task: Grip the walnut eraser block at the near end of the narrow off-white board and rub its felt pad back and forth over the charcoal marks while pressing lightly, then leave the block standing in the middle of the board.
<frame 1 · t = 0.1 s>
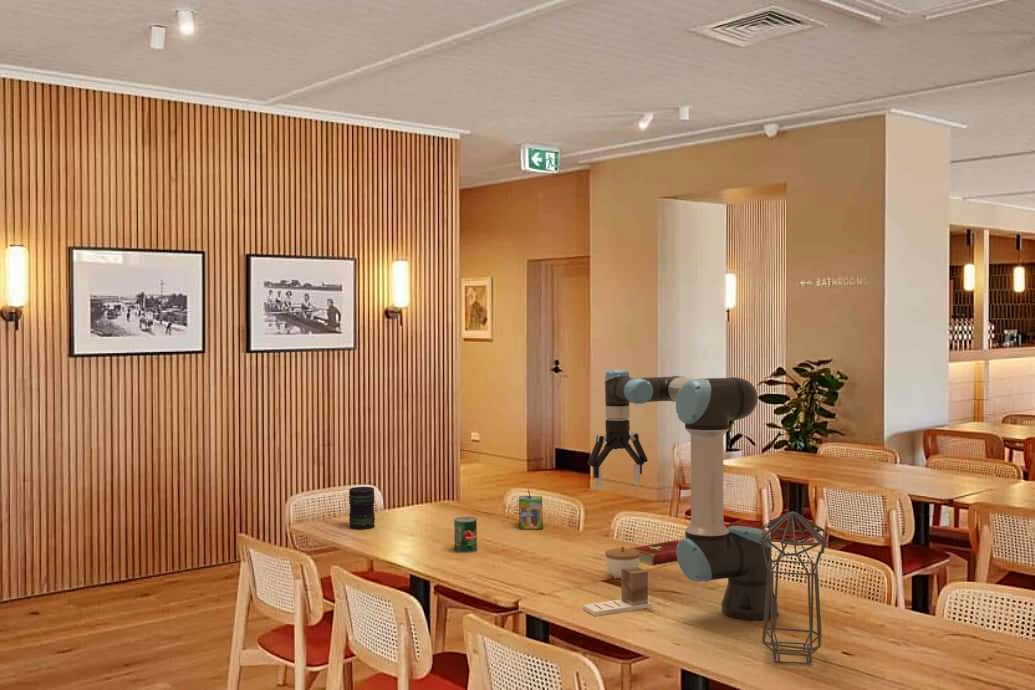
hand: (617, 486, 311), 28 cm above the table, tool pointing down, fingers open, 13 cm apart
canned tomato: (465, 550, 347), on the table
eraser block: (634, 601, 279), point 1 cm above the table, touching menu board
lidded jar: (622, 577, 310), on the table
storage jar: (362, 527, 386), on the table
green juice box: (531, 527, 383), on the table
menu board: (617, 608, 277), on the table
hardcover book: (665, 559, 334), on the table
geometric lantern: (792, 659, 236), on the table
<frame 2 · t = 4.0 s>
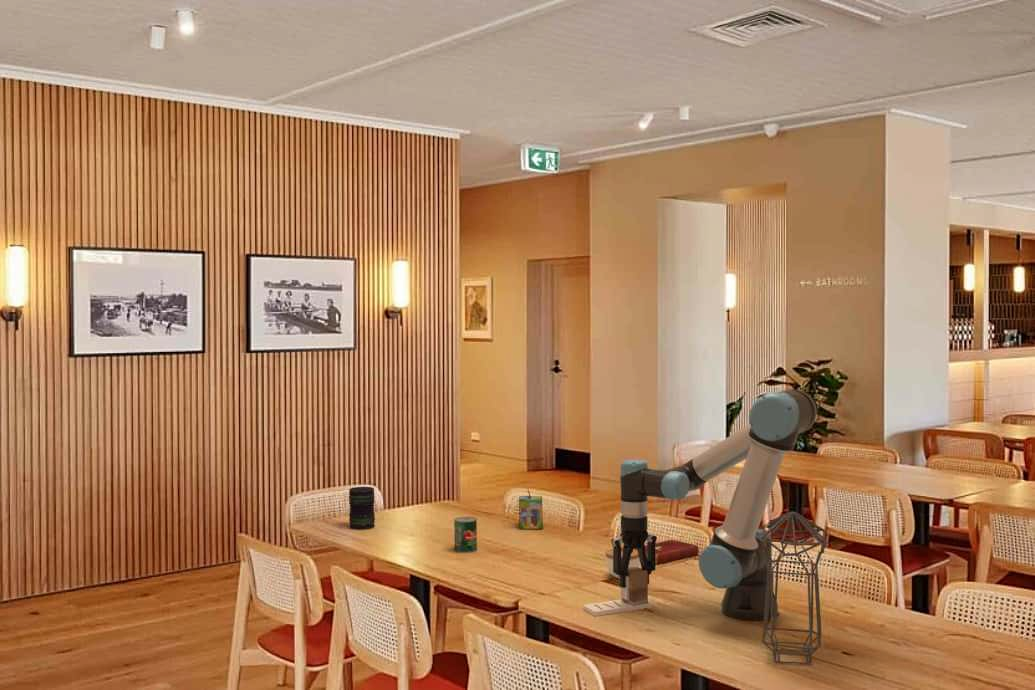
hand: (634, 597, 279), 2 cm above the table, tool pointing down, fingers closed on eraser block, 5 cm apart
eraser block: (634, 601, 279), point 1 cm above the table, touching gripper, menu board
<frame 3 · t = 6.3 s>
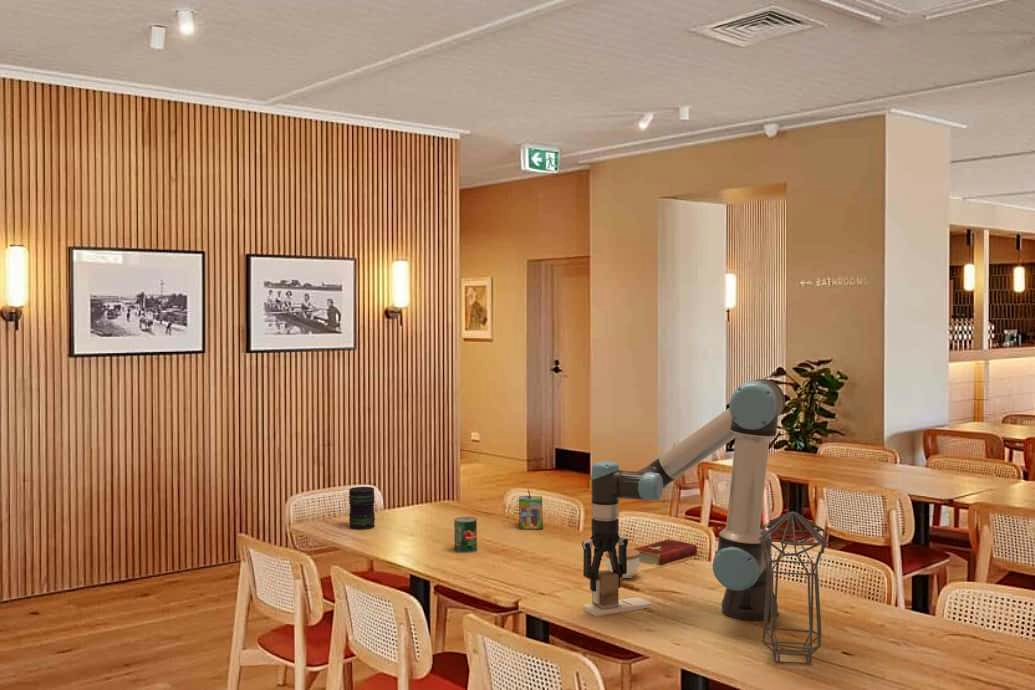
hand: (605, 601, 275), 3 cm above the table, tool pointing down, fingers closed on eraser block, 5 cm apart
eraser block: (605, 605, 275), point 1 cm above the table, touching gripper
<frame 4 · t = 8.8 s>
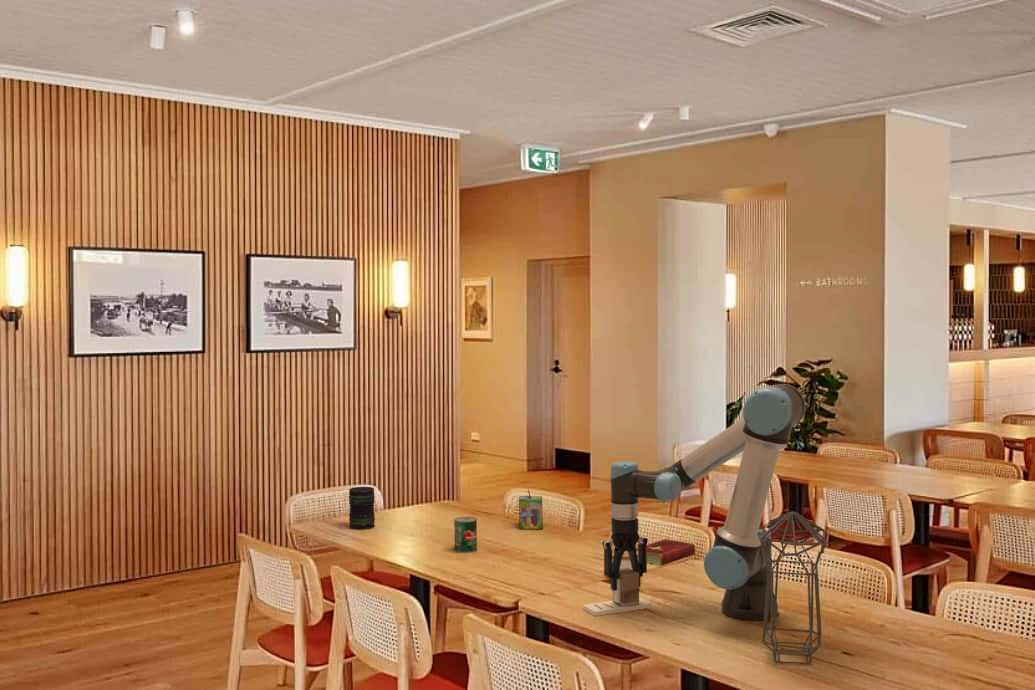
hand: (625, 600, 277), 2 cm above the table, tool pointing down, fingers closed on eraser block, 5 cm apart
eraser block: (625, 603, 277), point 1 cm above the table, touching gripper
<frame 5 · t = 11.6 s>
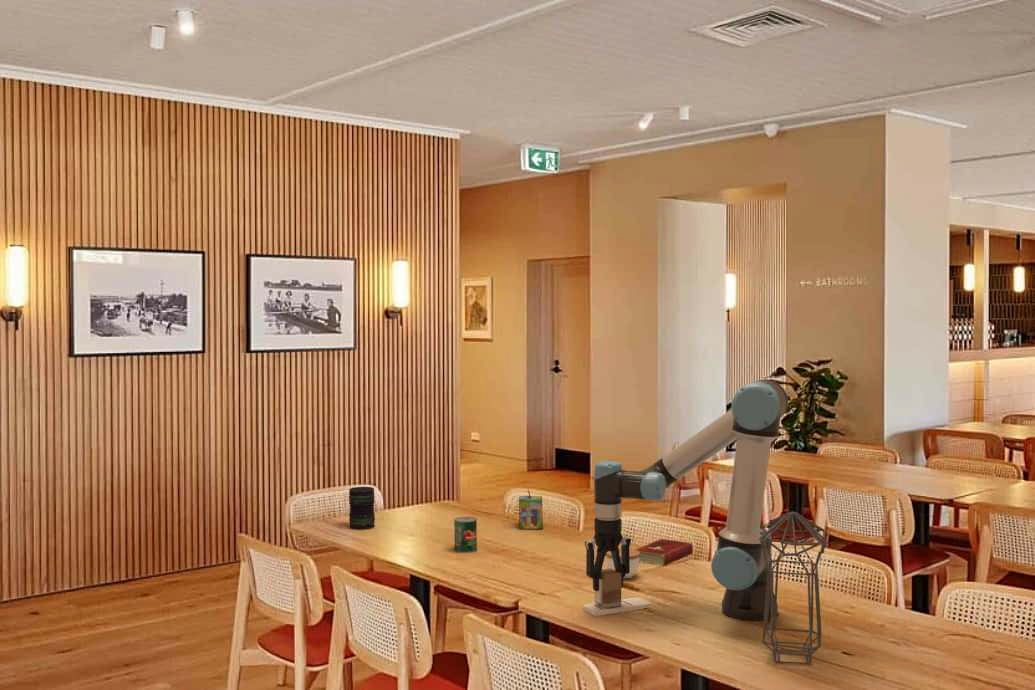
hand: (608, 600, 276), 3 cm above the table, tool pointing down, fingers closed on eraser block, 5 cm apart
eraser block: (608, 603, 276), point 2 cm above the table, touching gripper
when the fingers open (2 cm above the table, at t = 14.0 s): eraser block stays where it is, resting on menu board.
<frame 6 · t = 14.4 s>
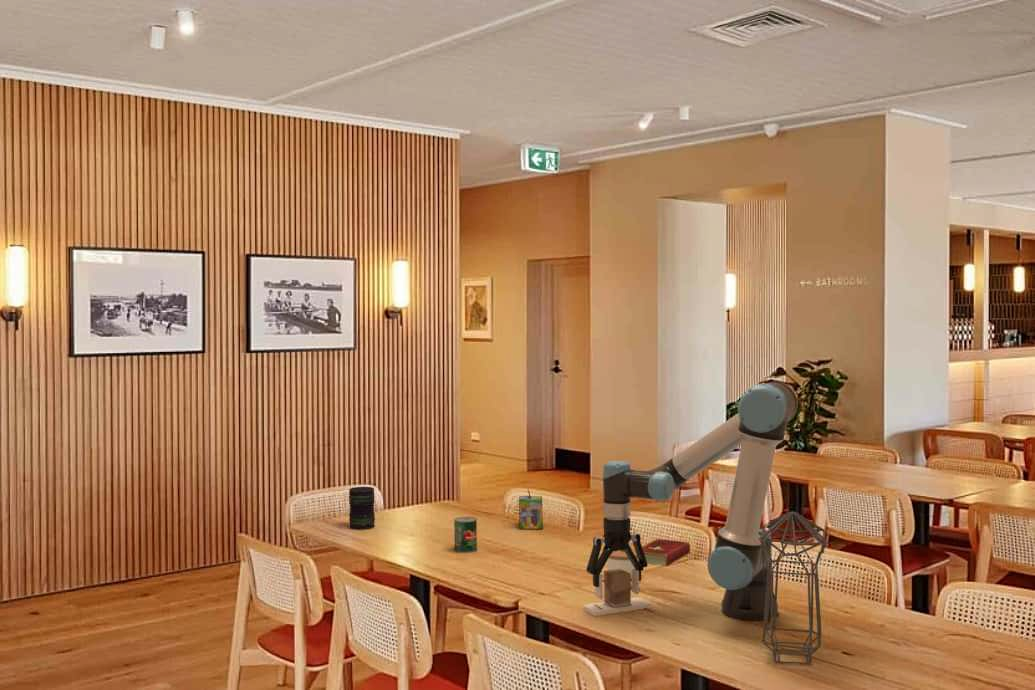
hand: (617, 595, 276), 4 cm above the table, tool pointing down, fingers open, 11 cm apart
eraser block: (617, 604, 277), point 1 cm above the table, touching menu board
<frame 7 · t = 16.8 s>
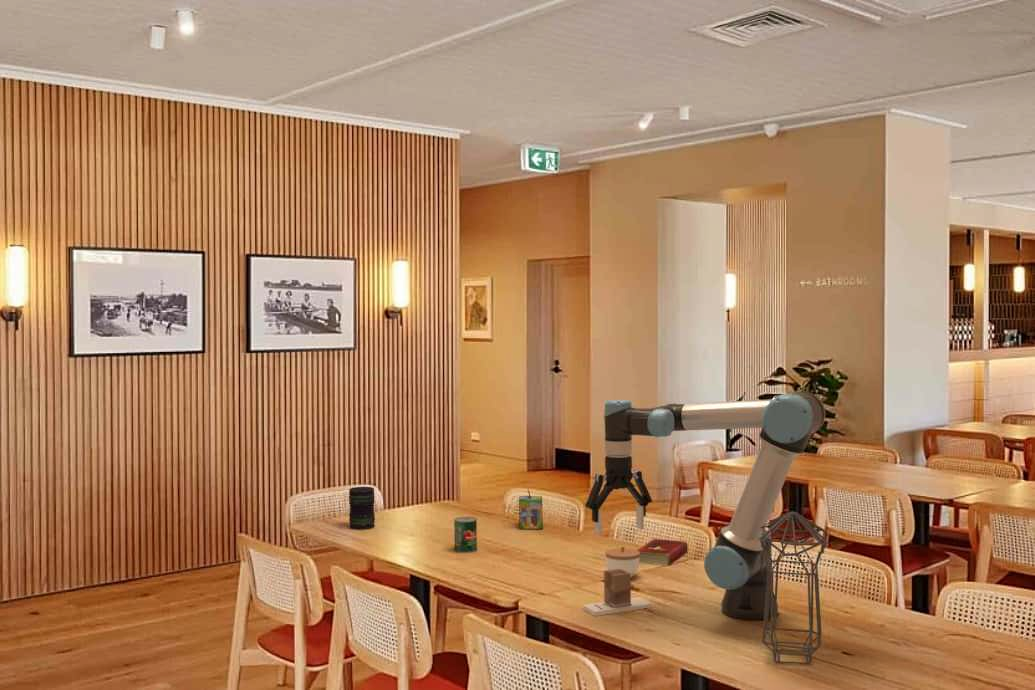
hand: (619, 531, 278), 21 cm above the table, tool pointing down, fingers open, 13 cm apart
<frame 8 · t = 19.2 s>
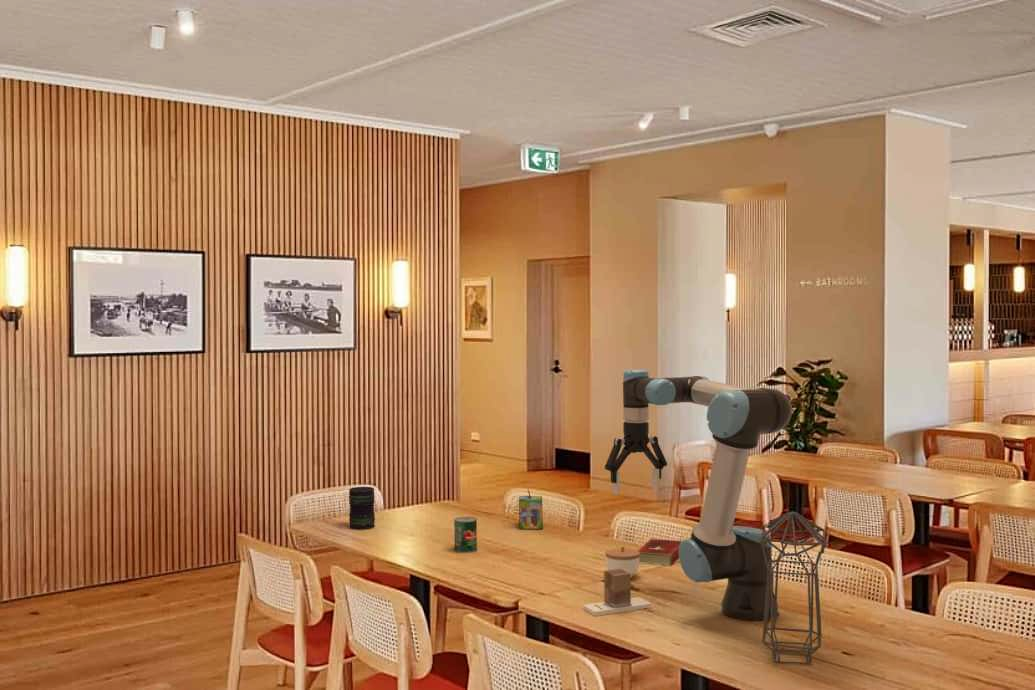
hand: (636, 492, 297), 29 cm above the table, tool pointing down, fingers open, 13 cm apart
at the end: eraser block 0.0 cm off-centre on the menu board, point 1.2 cm above the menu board's base; eraser block tilted 0°; the gripper is holding nothing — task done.
